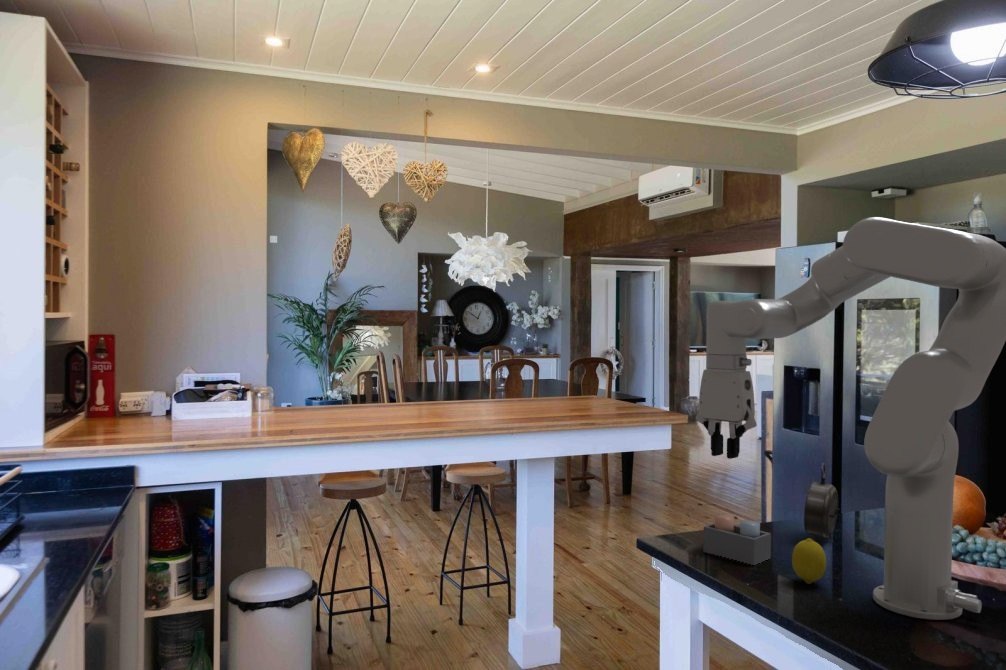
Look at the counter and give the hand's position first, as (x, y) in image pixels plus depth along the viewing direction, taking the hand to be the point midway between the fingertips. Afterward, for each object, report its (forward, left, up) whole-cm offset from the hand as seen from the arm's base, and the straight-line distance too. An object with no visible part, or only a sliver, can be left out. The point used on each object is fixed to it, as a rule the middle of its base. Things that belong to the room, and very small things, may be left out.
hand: (724, 455), depth 145 cm
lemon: (-19, +4, -19) cm, 28 cm away
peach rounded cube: (0, 0, -16) cm, 16 cm away
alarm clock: (-9, -22, -19) cm, 31 cm away
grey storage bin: (-3, 0, -19) cm, 19 cm away
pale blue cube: (-6, 0, -16) cm, 17 cm away
